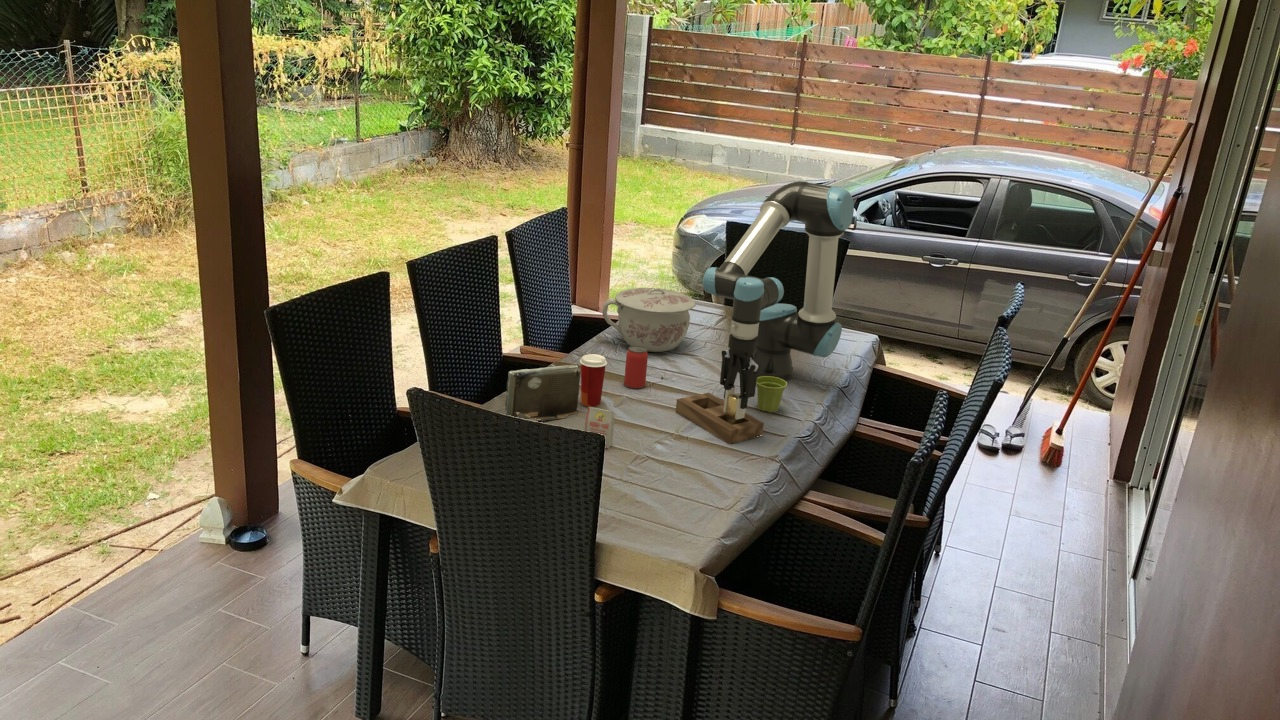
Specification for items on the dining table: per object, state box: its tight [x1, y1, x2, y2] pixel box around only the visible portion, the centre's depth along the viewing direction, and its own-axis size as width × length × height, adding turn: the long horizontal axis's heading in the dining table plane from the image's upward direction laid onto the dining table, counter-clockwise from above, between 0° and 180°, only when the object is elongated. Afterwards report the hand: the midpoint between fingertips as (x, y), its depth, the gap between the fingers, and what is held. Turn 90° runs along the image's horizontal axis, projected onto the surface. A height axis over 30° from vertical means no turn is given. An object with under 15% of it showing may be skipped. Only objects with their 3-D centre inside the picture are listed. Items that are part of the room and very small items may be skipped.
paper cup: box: [579, 353, 608, 408], centre depth 280 cm, size 8×8×14 cm
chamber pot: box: [601, 287, 697, 353], centre depth 330 cm, size 28×28×21 cm
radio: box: [504, 364, 581, 423], centre depth 268 cm, size 23×9×15 cm, turn 120°
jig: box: [675, 392, 765, 445], centre depth 274 cm, size 12×24×4 cm, turn 36°
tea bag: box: [584, 406, 615, 450], centre depth 255 cm, size 4×7×10 cm, turn 74°
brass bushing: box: [726, 393, 742, 425], centre depth 269 cm, size 4×4×8 cm
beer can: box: [623, 346, 649, 390], centre depth 296 cm, size 7×7×12 cm
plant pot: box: [756, 376, 788, 413], centre depth 287 cm, size 9×9×9 cm
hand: (733, 414), depth 269 cm, fingers closed on brass bushing, 4 cm apart
